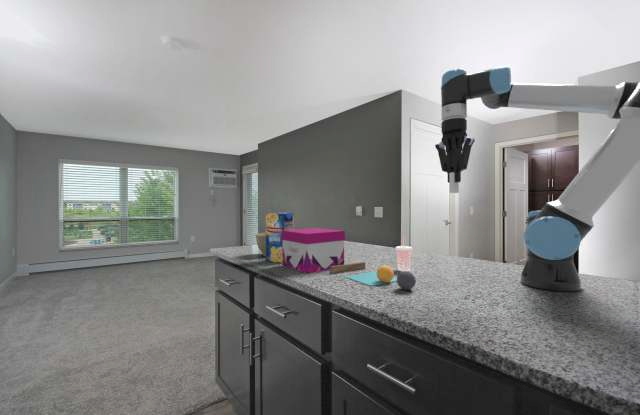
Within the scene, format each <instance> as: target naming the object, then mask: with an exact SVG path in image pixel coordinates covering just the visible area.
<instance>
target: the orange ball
mask: <svg viewBox="0 0 640 415" xmlns="http://www.w3.org/2000/svg"><path fill="white" fill-rule="evenodd" d="M376 272H377V277H378V279H379V280H380V281H381V282H385V283H386V282H390V281H391V280H392V279H393V277H395V276H394V270H393V268H392V267H390V266H389V265H381V266H379V267H378V269H377V271H376ZM386 284H387V283H386Z"/></svg>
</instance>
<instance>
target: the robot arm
mask: <svg viewBox="0 0 640 415" xmlns="http://www.w3.org/2000/svg"><path fill="white" fill-rule="evenodd" d="M440 86H441V87H440V92H441V93H440V94H441V120H442V122H441V134H442V137H441V141H440V142H439V143H438V144H437V143H436V144H435V146H434V147H435V150H437V153H438V158H439V162H440V163H439V164H440V167H441V170H442V172H445V173H447V183H449V185H448V186H449V194H459V192H460V191H459V190H460V185H459V184H460V183H461V180H462V179H461V178H462V176H461V175H462V172H463V171H465V170H467V168H468V165H469V159H470V154H471V150H472V146H473V145H474V143H475V138H473V137H472V138H471V137H469V136H468V134H467V127H468V126H467V125H468V123H467V120H468V119H466V118H467V117H468V111H467V110H468V108H467V104H468V103H467V101H468V100H474V99H478V98H480V99H481V102H482V104H483V105H484V106H485V107H487V108H488V109H490V110H497V109H500V108H513V109H528V110H542V111H557V112H567V113H568V112H569V113H570V112H571V113H584V114H585V113H586V114H600V115H607V117H608V118H609V119H616V120H619V121H618V123H617V124H616V125H615V126H614V127H613V129H612V130H611V131H610V132H609V133H608V135H607V136H606V138H604V140H602V141H603V142H602V143H601V144H600V145H599V146H598V148H597V149H596V150H595V151H594V153H593V154H592V155H591V156H590V158H589V159H588V160H587V162H586V163H585V164H584V165H583V166H582V168H581V169H580V170H579V171H578V173H577V174H576V175H575V176H574V178H573V179H572V180H571V182H570V183H569V184H568V185H567V187H566V188H565V189H564V191H563V192H562V193H561V194H560V195H559V197H558V198H557V199H556V200H553V201H549V202H546V203H545V204H544V206H543V207H542V208H541V210H532V211H529V212H528V213H527V218H526V227H525V231H524V233H523V234H524V235H523V239H524V243H525V245H526V247H527V248H526V249H527V251H526V256H527V257H526V261H525V264H524V266H523V269H522V270H521V274H520V283H522V284H523V285H525V286H529V287H532V288H535V289H542V290H546V291H548V290H549V291H555V292H577V291H581V290H582V282H581V278H580V275H579V273H578V271H577V268H576V265H575V263H574V257H575V256H574V255H575V254H576V252H577V251H578V250H579V248H580V246H581V243H582V241H583V239H584V238H586V236H587V235H588V234H589V233H590V232H591V231H592V230H593V228H594V226H595V224H594V222H593V218H594V216H595V215H596V213H597V212H598V211H599V210H600V209H601V208H602V207H603V205H604V204H605V203H606V202H607V201H608V199H609V198H610V197H611V196H612V195H613V193H614V192H616V190H617V189H618V188H619V187H620V185H621V184H622V183H624V181H625V179H627V177H628V176H629V175H630V174H631V172H632V171H633V170H634V169H635V168H636V166H637V165H638V164H639V163H640V81H636V82H634V81H632V82H631V81H630V82H628V81H627V82H626V81H625V82H622V83H620V84H619V85H595V84H594V85H591V84H589V85H588V84H554V83H550V84H549V83H525V82H524V83H522V82H521V83H518V82H517V83H516V82H513V83H512V74H511V67H510V66H507V65H504V66H498V67H497V66H496V67H493V68H490V69H486V70H483V71H482V70H481V71H479V72H474V73H468V74H467V70H465V69H464V68H453V69H449V70H448V71H446V72H445V73H444V74H442V76H441V85H440Z"/></svg>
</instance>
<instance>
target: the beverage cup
mask: <svg viewBox="0 0 640 415" xmlns="http://www.w3.org/2000/svg"><path fill="white" fill-rule="evenodd" d="M395 250H396V260H397V261H396V262H397V271H399V272H403V271H408V272H411V258H412V250H413V247H412V246H407V245H405V234H404V233H402V245H398V246H395Z"/></svg>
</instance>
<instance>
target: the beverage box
mask: <svg viewBox="0 0 640 415" xmlns="http://www.w3.org/2000/svg"><path fill="white" fill-rule="evenodd" d="M294 218H295V217H294V212H265V233H266V256H265V261H266V262H269V261H273V262H272V263H277V262H281V263H280V264H283V240H282V234H281V231H282V230H295V224H294V223H295V222H294V221H295V219H294Z"/></svg>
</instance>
